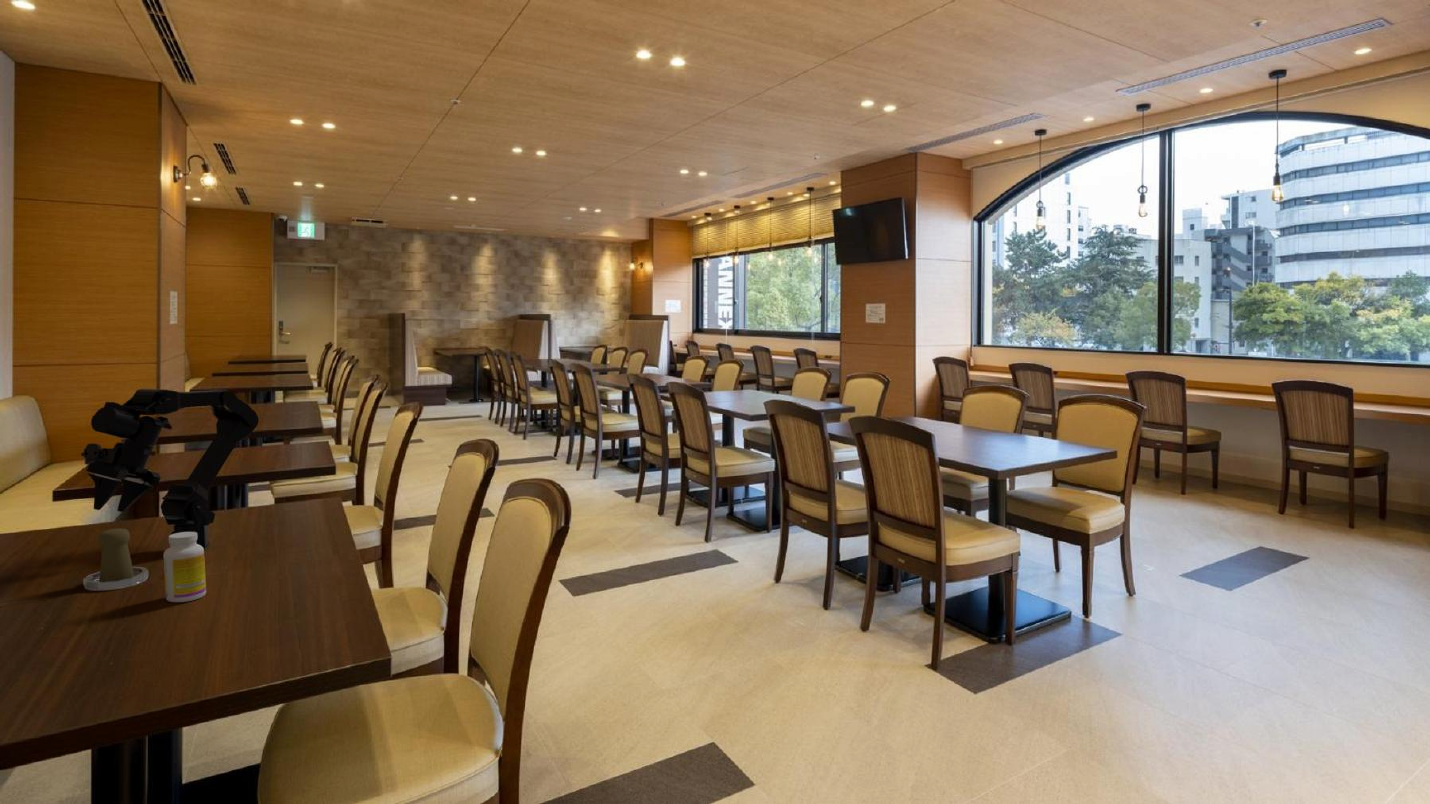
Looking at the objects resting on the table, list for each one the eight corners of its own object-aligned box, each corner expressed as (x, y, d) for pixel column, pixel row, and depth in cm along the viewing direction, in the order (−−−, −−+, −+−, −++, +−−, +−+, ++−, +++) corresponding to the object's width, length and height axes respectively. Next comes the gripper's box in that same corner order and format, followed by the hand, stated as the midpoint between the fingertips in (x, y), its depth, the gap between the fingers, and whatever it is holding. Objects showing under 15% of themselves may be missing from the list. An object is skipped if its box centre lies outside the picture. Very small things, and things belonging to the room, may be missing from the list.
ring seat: (154, 572, 167) (154, 564, 167) (138, 587, 157) (137, 579, 157) (96, 577, 163) (95, 569, 163) (75, 593, 154) (75, 585, 153)
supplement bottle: (214, 594, 154) (211, 532, 153) (182, 605, 148) (178, 540, 147) (190, 590, 156) (187, 528, 155) (157, 600, 150) (154, 537, 149)
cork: (115, 586, 157) (112, 534, 156) (91, 584, 158) (87, 532, 157) (142, 577, 163) (139, 526, 162) (118, 575, 164) (115, 525, 163)
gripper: (123, 438, 178) (93, 502, 175) (75, 426, 160) (41, 497, 157) (173, 451, 180) (145, 516, 176) (131, 441, 162) (99, 512, 158)
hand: (108, 510), depth 167 cm, fingers open, 9 cm apart
